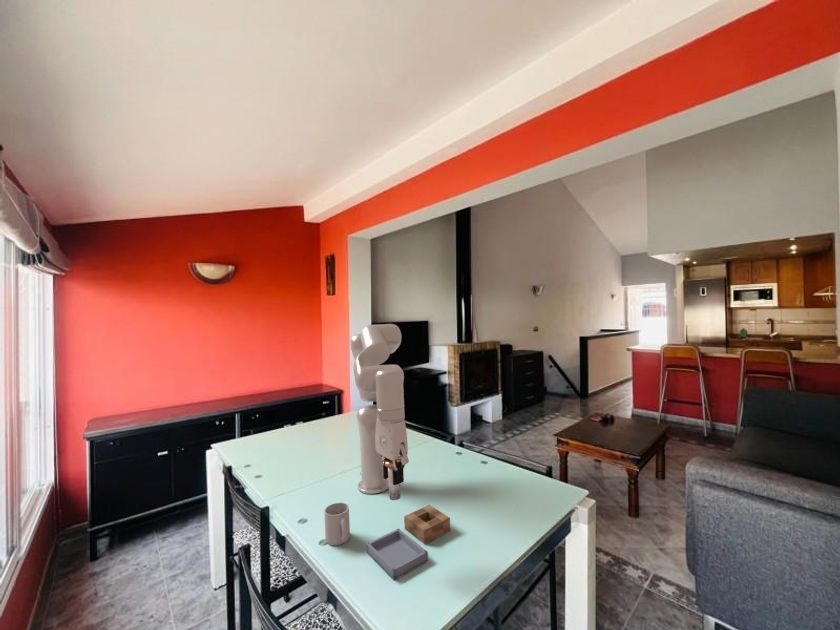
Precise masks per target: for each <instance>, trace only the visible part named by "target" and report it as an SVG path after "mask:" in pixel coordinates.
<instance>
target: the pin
mask: <svg viewBox="0 0 840 630" xmlns="http://www.w3.org/2000/svg"><path fill="white" fill-rule="evenodd" d="M396 461H397V463H398V462H400V459H399V460H396ZM385 466H386V467H388V481H389V488H388V496H389V500H391V501H398V500H399V499H401V486H400V485H401V483H400V484H397V485H393V474H392V470H394V467H393V461H392V460H390V459H387V460H385Z"/></svg>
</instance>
